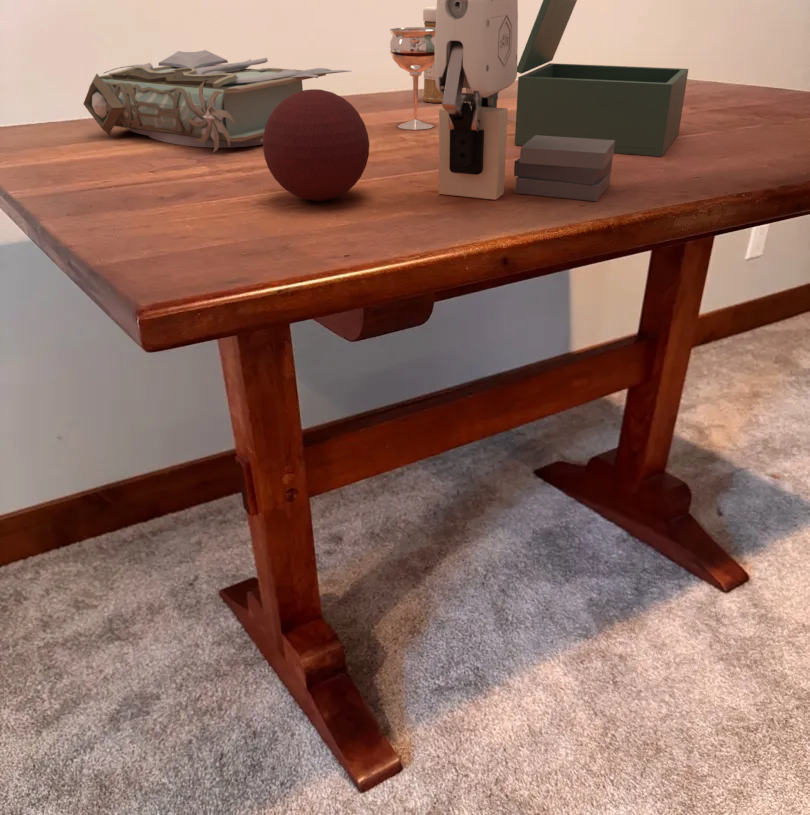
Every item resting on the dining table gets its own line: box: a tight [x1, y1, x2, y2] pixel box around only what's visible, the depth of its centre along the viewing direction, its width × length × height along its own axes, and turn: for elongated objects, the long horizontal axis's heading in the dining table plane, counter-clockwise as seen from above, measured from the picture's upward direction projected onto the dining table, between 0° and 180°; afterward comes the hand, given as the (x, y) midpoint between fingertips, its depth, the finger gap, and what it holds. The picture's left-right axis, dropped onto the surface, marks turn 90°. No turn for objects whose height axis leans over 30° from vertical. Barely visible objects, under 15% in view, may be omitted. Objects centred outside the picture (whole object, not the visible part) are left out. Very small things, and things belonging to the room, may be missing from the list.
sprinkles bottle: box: [422, 5, 444, 104], centre depth 123 cm, size 5×5×14 cm
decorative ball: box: [262, 88, 370, 202], centre depth 75 cm, size 10×10×10 cm
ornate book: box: [83, 49, 351, 154], centre depth 105 cm, size 23×10×30 cm
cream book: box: [438, 106, 509, 201], centre depth 77 cm, size 6×2×8 cm, turn 66°
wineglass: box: [389, 26, 435, 131], centre depth 106 cm, size 7×7×12 cm
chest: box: [514, 62, 689, 157], centre depth 98 cm, size 18×14×8 cm
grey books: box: [513, 135, 615, 202], centre depth 79 cm, size 9×7×4 cm
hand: (471, 167), depth 77 cm, fingers closed on cream book, 2 cm apart
